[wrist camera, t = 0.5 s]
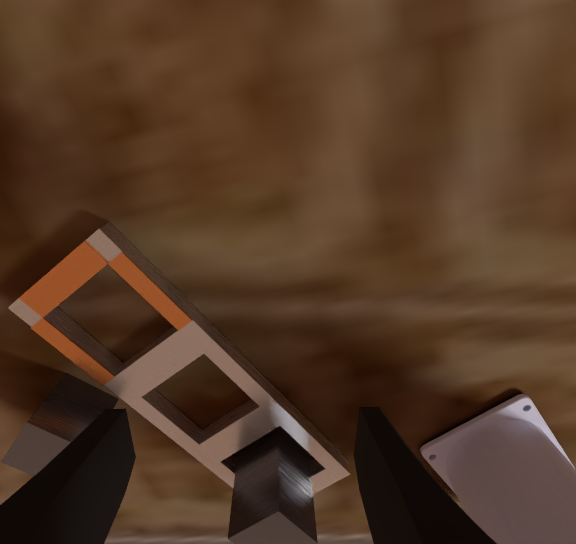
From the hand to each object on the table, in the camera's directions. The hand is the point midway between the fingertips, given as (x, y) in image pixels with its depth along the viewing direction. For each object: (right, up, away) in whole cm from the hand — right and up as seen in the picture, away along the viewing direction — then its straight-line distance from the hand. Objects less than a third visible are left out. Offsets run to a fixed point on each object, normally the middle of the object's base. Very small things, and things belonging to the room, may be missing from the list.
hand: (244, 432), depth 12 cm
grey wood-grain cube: (-12, -3, +12) cm, 17 cm away
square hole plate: (-4, -2, +12) cm, 13 cm away
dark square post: (0, -7, +14) cm, 16 cm away
